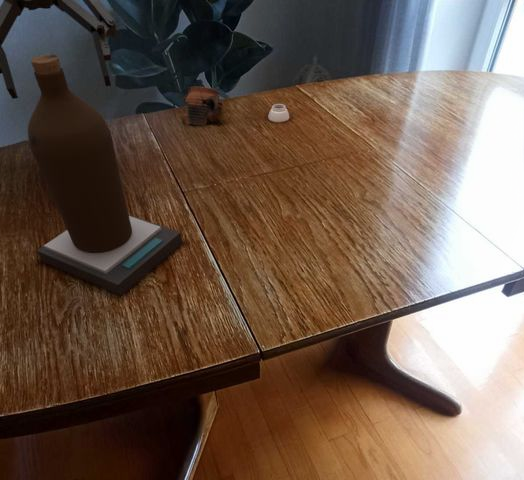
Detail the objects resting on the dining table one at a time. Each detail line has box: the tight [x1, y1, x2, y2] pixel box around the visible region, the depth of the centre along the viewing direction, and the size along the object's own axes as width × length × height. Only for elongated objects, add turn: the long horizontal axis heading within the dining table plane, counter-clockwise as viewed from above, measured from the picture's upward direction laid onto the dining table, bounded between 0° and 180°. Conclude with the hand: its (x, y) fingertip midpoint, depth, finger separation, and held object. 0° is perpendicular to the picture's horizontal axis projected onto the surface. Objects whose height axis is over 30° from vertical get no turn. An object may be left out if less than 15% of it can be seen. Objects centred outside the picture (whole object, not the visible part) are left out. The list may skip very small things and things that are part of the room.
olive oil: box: [27, 53, 132, 253], centre depth 64 cm, size 11×11×25 cm
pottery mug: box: [182, 85, 223, 127], centre depth 109 cm, size 12×10×8 cm
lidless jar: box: [267, 103, 290, 123], centre depth 109 cm, size 5×3×5 cm
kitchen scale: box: [36, 214, 184, 297], centre depth 75 cm, size 17×15×3 cm
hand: (61, 87), depth 68 cm, fingers open, 13 cm apart
